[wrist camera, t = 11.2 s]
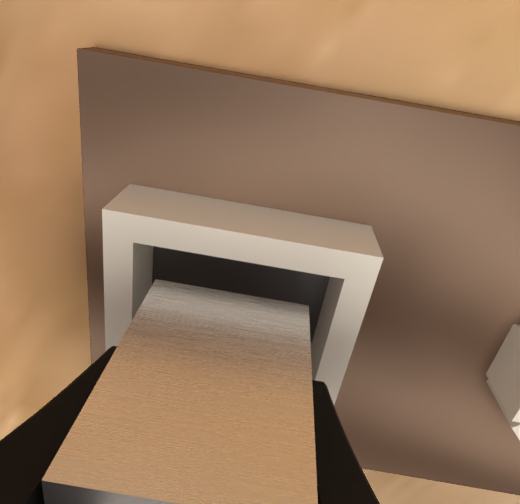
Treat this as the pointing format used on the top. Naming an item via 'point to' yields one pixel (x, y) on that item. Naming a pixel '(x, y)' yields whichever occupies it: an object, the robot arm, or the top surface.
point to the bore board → (323, 243)
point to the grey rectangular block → (197, 407)
